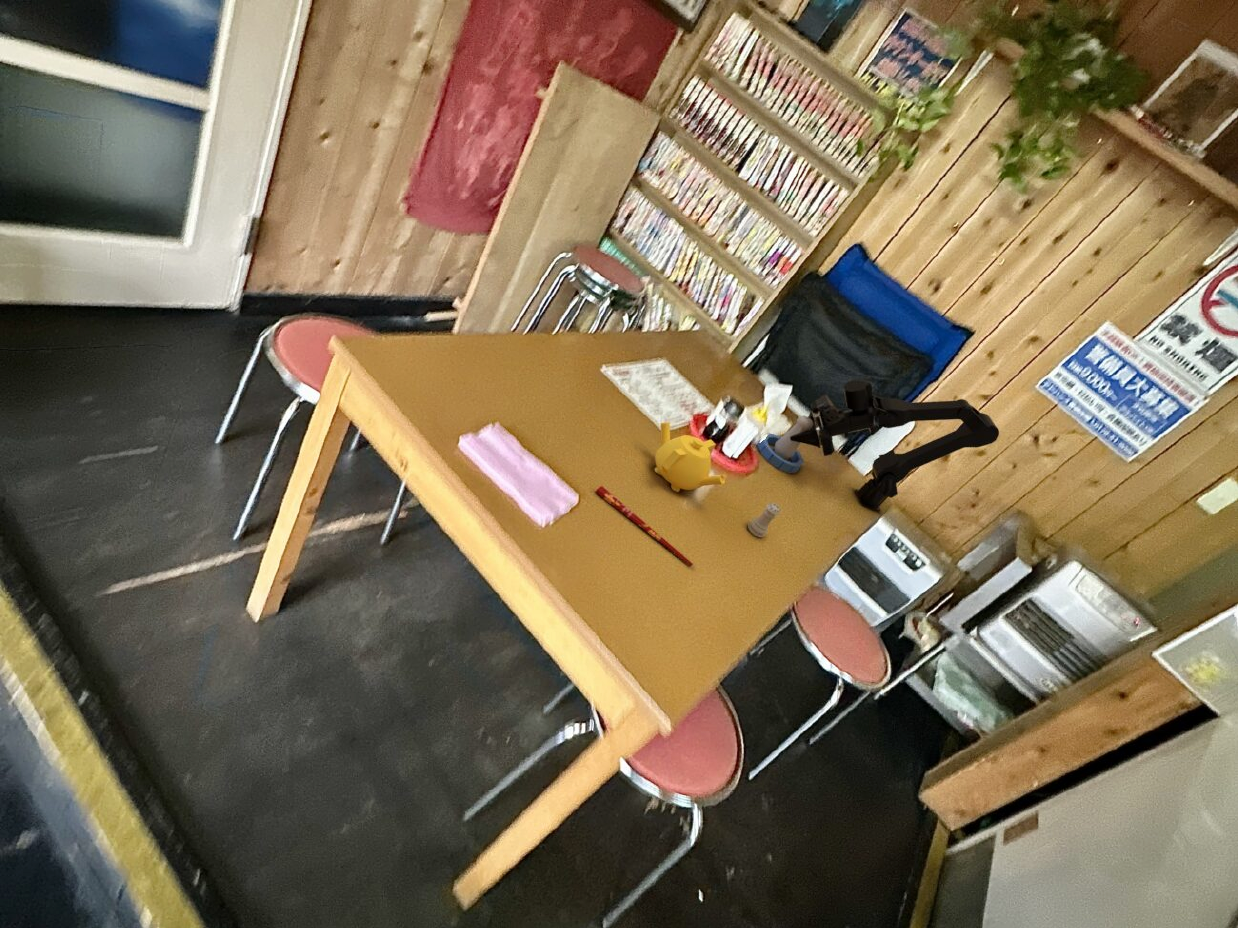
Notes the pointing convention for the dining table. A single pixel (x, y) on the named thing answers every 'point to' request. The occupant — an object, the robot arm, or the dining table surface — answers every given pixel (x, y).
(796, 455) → the tape roll
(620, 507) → the chopstick
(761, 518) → the rook chess piece
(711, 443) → the teapot
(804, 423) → the salt shaker
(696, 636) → the dining table surface
